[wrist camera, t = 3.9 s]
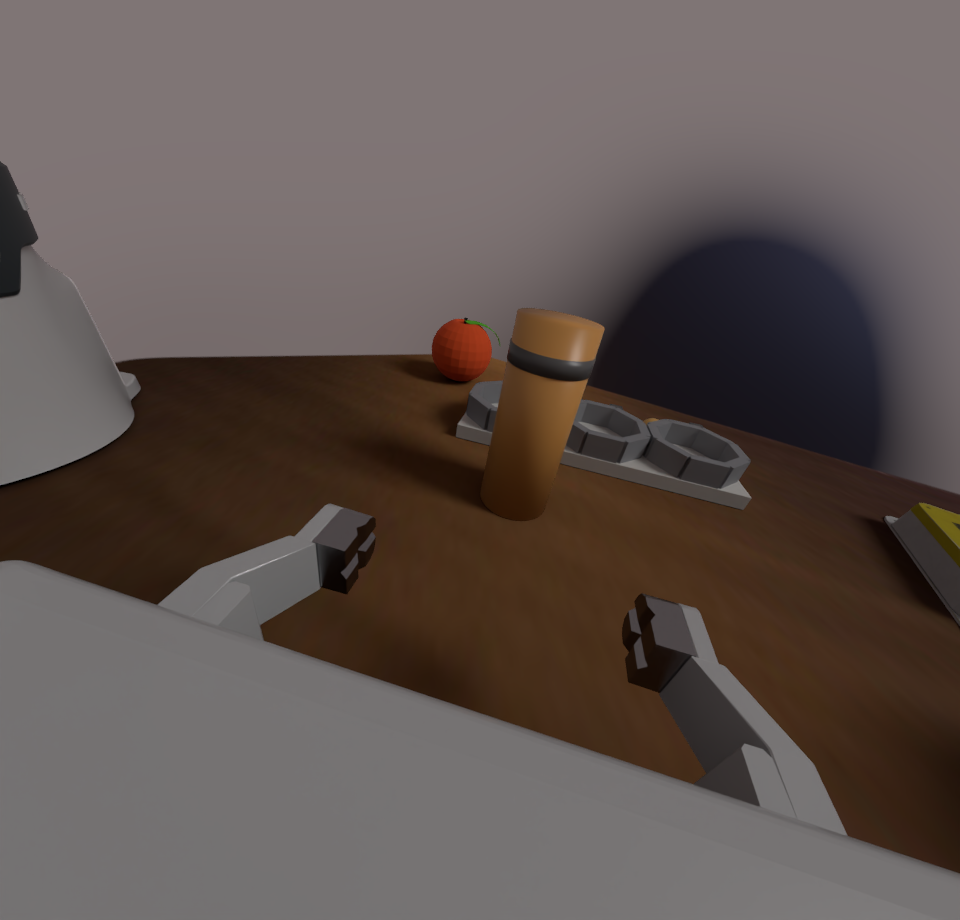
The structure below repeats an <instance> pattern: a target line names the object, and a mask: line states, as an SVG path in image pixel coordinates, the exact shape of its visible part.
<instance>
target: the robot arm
mask: <svg viewBox="0 0 960 920" xmlns="http://www.w3.org/2000/svg"><path fill="white" fill-rule="evenodd" d="M28 209H29V208H28V206H27V203H26V201H25V199H24V197H23V194H21V193H20V192H18V189H17V187H16V185H15V183H14V181H13V179H12V177H11V174H10V173H9V170H8V168H7V166H6V165H4V164H3V163H1V162H0V485H3V484H7V483H10V482H14V481H17V480H21V479H24V478H27V477H31V476H34V475H37V474H40V473H43V472H46V471H49V470H52V469H54V468H57V467H60V466H63V465H65V464H68V463H70V462H73V461H75V460H77V459H80V458H82V457H84V456H86V455H88V454H90V453H93V452H95V451H96V450H98V449H100V448H102V447H104V446H105V445H107V444H109V443H110V442H112V441H113V440H115V439H116V438H118V437H119V436H120V435H121V434H122V433H124V432H125V431H126V430H127V429H128V427H129V426H130V425H131V423H132V421H133V418H134V411H133V408H132V406H131V399H132V398H133V397H134V396H135V395H136V394H137V393H138V392H139V391H140V389H141V387H140V385H139V383H138V381H137V379H136V377H135V376H134V375H132V374H129V373H124V372H119V371H118V369H117V367H116V365H115V363H114V360H113V359H112V356H111V354H110V352H109V350H108V348H107V346H106V344H105V342H104V340H103V338H102V336H101V334H100V332H99V330H98V328H97V326H96V324H95V322H94V320H93V318H92V316H91V314H90V312H89V310H88V308H87V306H86V304H85V302H84V300H83V298H82V296H81V294H80V292H79V290H78V288H77V287H76V285H75V283H74V282H73V281H72V280H71V279H70V278H69V277H68V276H66V275H64V274H63V273H62V272H60V271H58V270H57V269H54V268H53V267H51V266H50V265H48V264H47V263H46V262H45V261H44V260H43V259H42V258H41V257H40V256H39V255H38V254H37V253H36V251H35V250H34V249H33V248H32V246H31V245H32V244H34V243H35V242H36V241H37V239H38V236H37V234H36V231H35V229H34V226H33V224H32V222H31V219H30V217H29V215H28V212H27V210H28ZM375 527H376V519H375V518H374V517H372V516H369V515H366V514H363V513H359V512H356V511H353V510H350V509H347V508H342V507H339V506H336V505H333V504H327V505H325V506H324V507H323V508H322V509H321V510H320V511H319V512H318V513H317V514H316V515H315V516H314V517H313V518H312V519H311V520H310V521H309V522H308V523H307V524H306V525H305V526H304V527H303V528H302V529H301V530H300V531H299V532H298V533H297V534H296V535H295V536H294V537H293V536H287V537H284V538H282V539H279V540H276V541H274V542H271V543H268V544H265V545H263V546H260V547H257V548H255V549H252V550H249V551H246V552H244V553H241V554H238V555H236V556H233V557H230V558H227V559H225V560H222V561H219V562H217V563H214V564H211V565H208V566H206V567H203V568H200V569H199V570H198V571H197V572H196V573H195V574H193V575H192V576H191V577H190V578H189V579H187V580H186V581H185V582H184V583H183V584H181V585H180V586H179V587H178V588H177V589H176V590H174V591H173V592H172V593H171V594H170V595H168V596H167V597H166V598H165V599H164V600H163V601H161V602H160V603H159V604H158V605H155V604H152V603H149V602H146V601H143V600H140V599H137V598H134V597H131V596H129V595H126V594H123V593H120V592H117V591H114V590H111V589H108V588H105V587H102V586H99V585H96V584H93V583H90V582H87V581H84V580H81V579H78V578H75V577H72V576H69V575H66V574H63V573H60V572H57V571H54V570H51V569H48V568H46V567H43V566H40V565H37V564H34V563H30V562H26V561H17V560H13V561H4V562H0V920H960V873H957V872H954V871H951V870H948V869H945V868H942V867H939V866H936V865H933V864H930V863H927V862H924V861H921V860H918V859H915V858H912V857H909V856H906V855H903V854H900V853H897V852H894V851H891V850H888V849H885V848H882V847H879V846H876V845H873V844H870V843H867V842H864V841H861V840H858V839H855V838H852V837H849V836H847V834H846V831H845V829H844V827H843V825H842V823H841V821H840V819H839V817H838V815H837V812H836V810H835V808H834V806H833V804H832V802H831V800H830V798H829V795H828V793H827V791H826V789H825V787H824V785H823V783H822V781H821V779H820V776H819V774H818V772H817V770H816V768H815V766H814V764H813V763H812V762H811V761H810V760H809V758H808V757H807V756H806V755H805V754H804V753H803V752H802V751H801V750H800V749H799V747H798V746H797V745H796V744H795V743H794V742H793V741H792V740H791V739H790V738H789V736H788V735H787V734H786V733H785V732H784V731H783V730H782V729H781V728H780V727H779V725H778V724H777V723H776V722H775V721H774V720H773V719H772V718H771V717H770V715H769V714H768V713H767V712H766V711H765V710H764V709H763V708H762V707H761V706H760V704H759V703H758V702H757V701H756V700H755V699H754V698H753V697H752V696H751V695H750V693H749V692H748V691H747V690H746V689H745V688H744V687H743V686H742V685H741V684H740V682H739V681H738V680H737V679H736V678H735V677H734V676H733V675H732V674H731V673H730V671H729V670H728V669H727V668H726V667H725V666H723V665H720V664H719V663H718V661H717V658H716V655H715V653H714V650H713V647H712V644H711V642H710V639H709V636H708V633H707V631H706V628H705V625H704V622H703V620H702V617H701V614H700V612H699V611H698V610H697V609H696V608H693V607H689V606H686V605H682V604H679V603H675V602H671V601H668V600H664V599H660V598H657V597H653V596H649V595H646V594H642V593H641V594H640V595H638V597H637V598H636V600H635V601H634V602H635V607H636V608H635V609H632V610H630V611H628V613H627V615H626V617H625V618H624V622H623V627H622V639H623V644H624V646H625V647H626V649H627V650H628V652H629V653H628V655H627V656H626V658H625V663H626V670H627V677H628V682H629V683H632V684H635V685H638V686H641V687H644V688H646V689H649V690H652V691H655V692H658V693H660V694H659V695H660V697H661V698H662V700H663V702H664V703H665V705H666V707H667V708H668V710H669V712H670V713H671V715H672V717H673V719H674V720H675V722H676V724H677V725H678V727H679V729H680V730H681V732H682V734H683V735H684V737H685V739H686V740H687V742H688V744H689V745H690V747H691V749H692V750H693V752H694V754H695V755H696V757H697V759H698V760H699V762H700V764H701V765H702V767H703V769H704V770H705V772H706V774H705V775H704V776H703V777H701V778H700V779H699V780H698V781H696V782H695V783H694V784H690V783H687V782H684V781H681V780H678V779H675V778H672V777H669V776H666V775H663V774H660V773H658V772H655V771H652V770H649V769H646V768H643V767H640V766H637V765H634V764H631V763H628V762H625V761H622V760H619V759H616V758H613V757H610V756H607V755H604V754H601V753H598V752H595V751H592V750H589V749H586V748H583V747H580V746H577V745H574V744H571V743H568V742H565V741H562V740H559V739H556V738H553V737H550V736H547V735H544V734H541V733H538V732H535V731H532V730H529V729H526V728H523V727H520V726H517V725H514V724H511V723H508V722H505V721H502V720H499V719H496V718H493V717H490V716H487V715H484V714H481V713H478V712H475V711H472V710H469V709H466V708H463V707H460V706H457V705H454V704H451V703H448V702H445V701H442V700H439V699H436V698H433V697H430V696H427V695H424V694H421V693H418V692H415V691H412V690H409V689H406V688H403V687H400V686H397V685H394V684H391V683H388V682H385V681H382V680H379V679H376V678H373V677H370V676H367V675H364V674H361V673H358V672H355V671H352V670H349V669H346V668H343V667H340V666H337V665H334V664H331V663H328V662H325V661H322V660H319V659H316V658H313V657H310V656H307V655H304V654H301V653H298V652H295V651H292V650H290V649H287V648H284V647H281V646H278V645H275V644H272V643H269V642H266V641H264V639H263V635H262V631H261V628H260V625H261V624H262V623H264V622H266V621H267V620H269V619H271V618H272V617H274V616H276V615H277V614H279V613H281V612H282V611H284V610H286V609H287V608H289V607H291V606H292V605H294V604H295V603H297V602H299V601H300V600H302V599H304V598H305V597H307V596H309V595H310V594H312V593H314V592H315V591H317V590H319V589H320V587H322V588H326V589H329V590H333V591H336V592H340V593H343V594H348V592H349V591H350V589H351V588H352V586H353V585H354V583H355V582H356V580H357V579H358V570H359V569H361V568H363V567H365V566H366V565H367V563H368V562H369V560H370V558H371V556H372V554H373V551H374V547H375V539H376V537H375V536H374V534H373V533H372V531H373V530H374V528H375Z"/></svg>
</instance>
